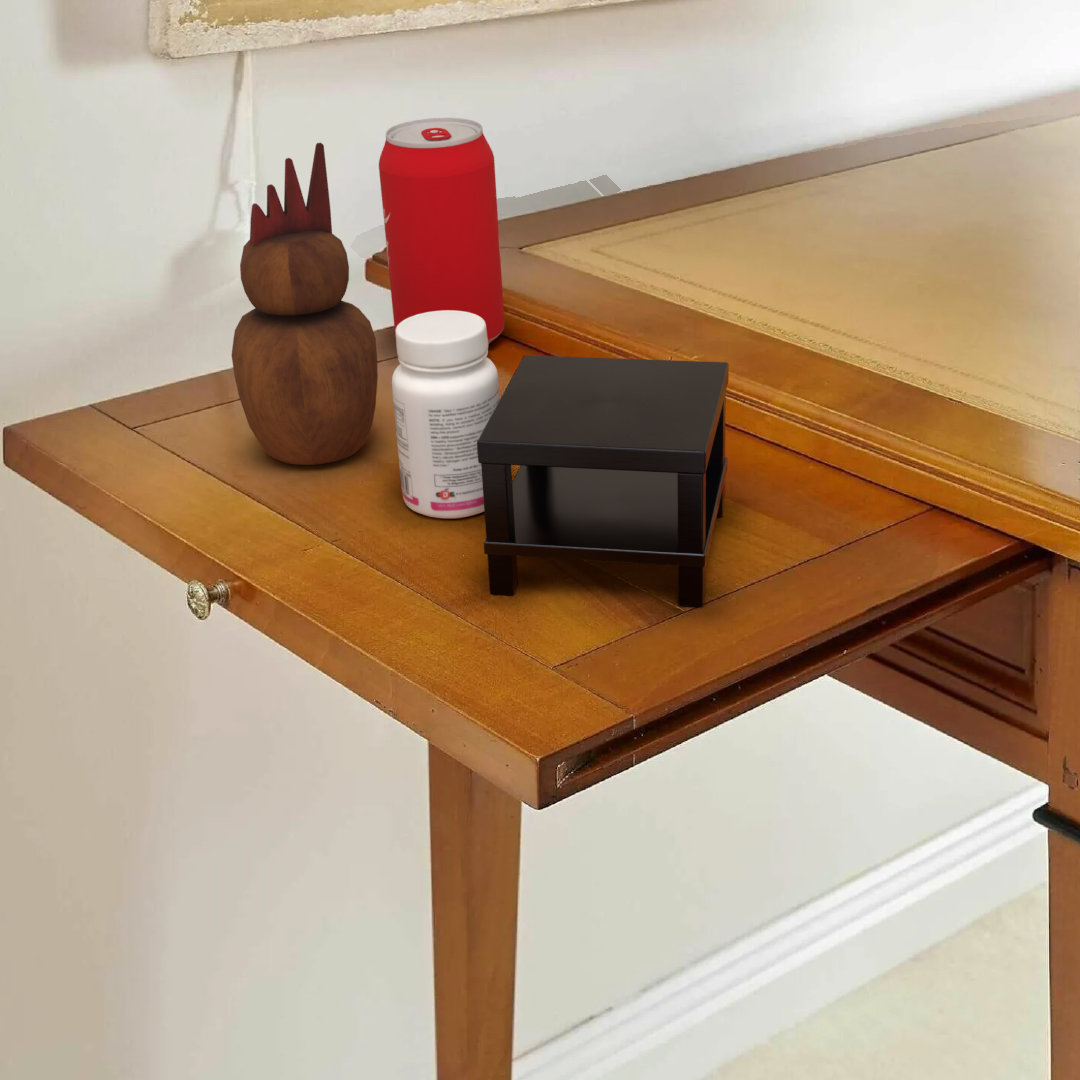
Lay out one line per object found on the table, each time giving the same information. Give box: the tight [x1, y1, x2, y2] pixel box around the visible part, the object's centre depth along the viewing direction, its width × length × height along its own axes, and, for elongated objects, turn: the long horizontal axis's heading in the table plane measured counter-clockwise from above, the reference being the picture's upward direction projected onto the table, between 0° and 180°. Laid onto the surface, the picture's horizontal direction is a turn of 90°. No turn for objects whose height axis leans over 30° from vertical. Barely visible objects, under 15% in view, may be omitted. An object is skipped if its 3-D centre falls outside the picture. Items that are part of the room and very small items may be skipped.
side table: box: [477, 354, 730, 608], centre depth 69 cm, size 9×9×7 cm
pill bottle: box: [391, 310, 500, 519], centre depth 73 cm, size 5×5×8 cm
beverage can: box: [378, 117, 506, 345], centre depth 90 cm, size 6×6×12 cm
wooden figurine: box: [231, 142, 379, 466], centre depth 77 cm, size 7×6×15 cm
